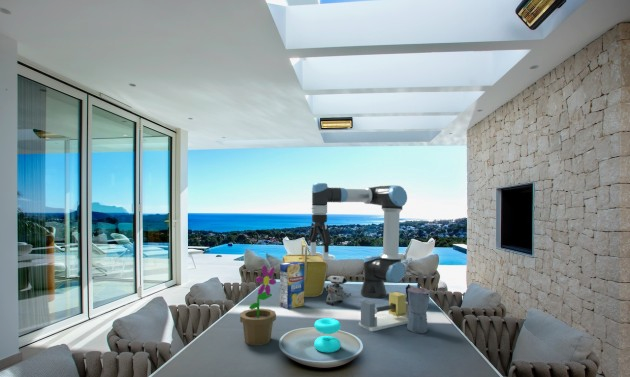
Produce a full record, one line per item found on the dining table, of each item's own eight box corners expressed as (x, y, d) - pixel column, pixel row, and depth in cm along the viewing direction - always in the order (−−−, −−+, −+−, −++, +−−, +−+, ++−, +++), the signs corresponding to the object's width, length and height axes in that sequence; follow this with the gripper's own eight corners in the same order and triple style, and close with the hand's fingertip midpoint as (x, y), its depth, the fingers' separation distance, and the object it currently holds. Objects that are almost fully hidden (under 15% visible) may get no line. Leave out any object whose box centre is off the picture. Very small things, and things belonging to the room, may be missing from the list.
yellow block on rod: (396, 311, 170) (396, 291, 171) (405, 315, 165) (405, 294, 166) (388, 313, 168) (389, 293, 168) (397, 316, 163) (397, 296, 163)
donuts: (311, 318, 138) (335, 316, 141) (310, 344, 138) (335, 341, 141) (318, 327, 129) (344, 324, 132) (318, 355, 129) (344, 352, 131)
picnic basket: (281, 286, 232) (282, 239, 233) (321, 285, 235) (321, 239, 236) (282, 298, 203) (283, 245, 204) (327, 297, 206) (328, 245, 207)
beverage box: (279, 306, 188) (280, 263, 188) (296, 302, 195) (296, 261, 196) (287, 309, 183) (287, 265, 183) (303, 305, 190) (304, 263, 190)
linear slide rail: (401, 316, 174) (401, 293, 174) (415, 321, 166) (415, 297, 166) (358, 324, 161) (358, 300, 161) (371, 331, 153) (371, 305, 153)
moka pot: (421, 337, 147) (421, 288, 148) (396, 325, 161) (396, 280, 161) (438, 333, 151) (438, 285, 152) (412, 322, 165) (412, 278, 166)
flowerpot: (259, 350, 132) (260, 268, 133) (231, 341, 140) (232, 264, 141) (282, 338, 144) (284, 263, 145) (255, 330, 152) (257, 259, 153)
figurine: (339, 308, 185) (339, 279, 186) (323, 303, 194) (324, 275, 194) (351, 304, 192) (351, 276, 192) (335, 300, 200) (335, 273, 200)
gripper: (302, 213, 188) (302, 253, 187) (324, 215, 165) (324, 261, 164) (315, 213, 191) (315, 253, 190) (338, 215, 168) (338, 260, 168)
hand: (319, 257), depth 177 cm, fingers open, 13 cm apart
